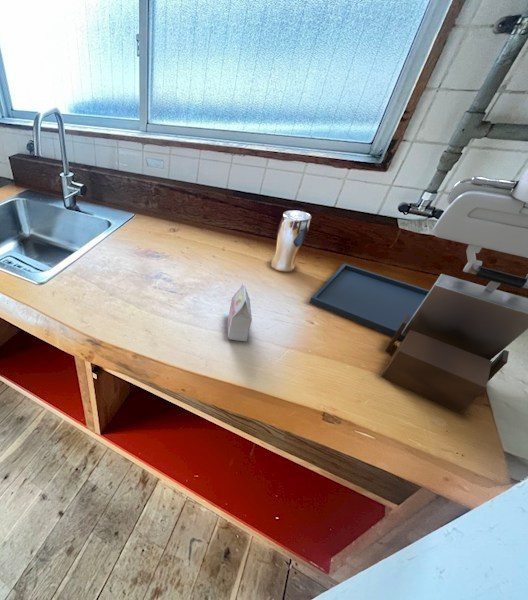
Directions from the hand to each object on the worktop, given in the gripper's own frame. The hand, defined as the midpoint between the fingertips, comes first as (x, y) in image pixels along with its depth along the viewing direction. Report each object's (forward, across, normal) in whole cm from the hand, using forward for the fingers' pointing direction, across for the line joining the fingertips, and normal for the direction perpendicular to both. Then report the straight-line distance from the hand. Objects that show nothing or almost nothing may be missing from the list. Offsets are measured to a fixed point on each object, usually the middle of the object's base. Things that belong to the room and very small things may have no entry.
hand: (497, 279), depth 49 cm
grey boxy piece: (+19, -31, -16) cm, 40 cm away
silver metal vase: (+19, -36, +16) cm, 44 cm away
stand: (+19, 0, -4) cm, 20 cm away
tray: (+19, -10, +14) cm, 26 cm away
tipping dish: (+8, 0, -1) cm, 8 cm away
